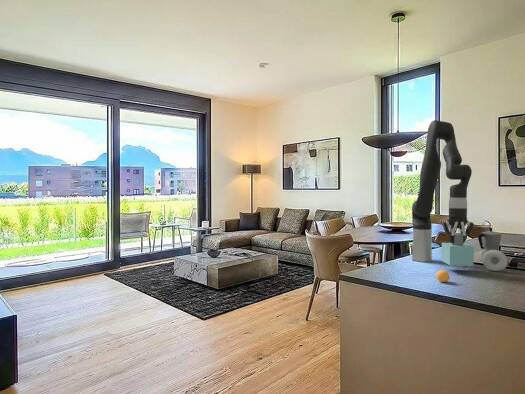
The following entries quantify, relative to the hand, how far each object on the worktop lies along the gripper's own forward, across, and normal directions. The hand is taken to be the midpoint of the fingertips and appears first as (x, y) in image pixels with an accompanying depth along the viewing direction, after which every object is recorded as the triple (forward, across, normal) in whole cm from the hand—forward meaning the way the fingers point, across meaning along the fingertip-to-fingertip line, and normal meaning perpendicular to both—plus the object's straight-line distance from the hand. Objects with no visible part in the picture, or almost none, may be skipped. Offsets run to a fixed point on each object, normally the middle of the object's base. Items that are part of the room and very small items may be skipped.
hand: (457, 243), depth 164 cm
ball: (+11, -13, -19) cm, 26 cm away
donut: (+13, +17, +1) cm, 22 cm away
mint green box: (+9, 0, 0) cm, 9 cm away
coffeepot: (+13, +24, +20) cm, 34 cm away
